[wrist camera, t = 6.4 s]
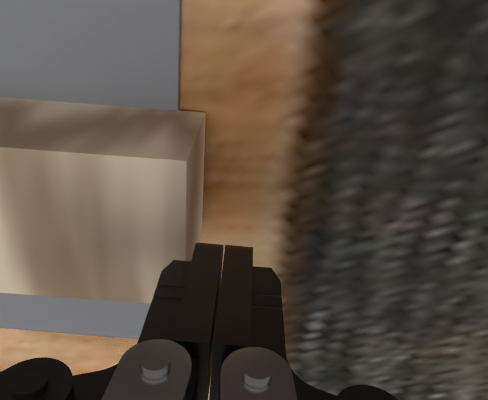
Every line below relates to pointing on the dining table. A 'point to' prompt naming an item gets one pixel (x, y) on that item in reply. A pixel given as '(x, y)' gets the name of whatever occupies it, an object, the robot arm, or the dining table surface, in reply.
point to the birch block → (97, 197)
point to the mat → (90, 92)
